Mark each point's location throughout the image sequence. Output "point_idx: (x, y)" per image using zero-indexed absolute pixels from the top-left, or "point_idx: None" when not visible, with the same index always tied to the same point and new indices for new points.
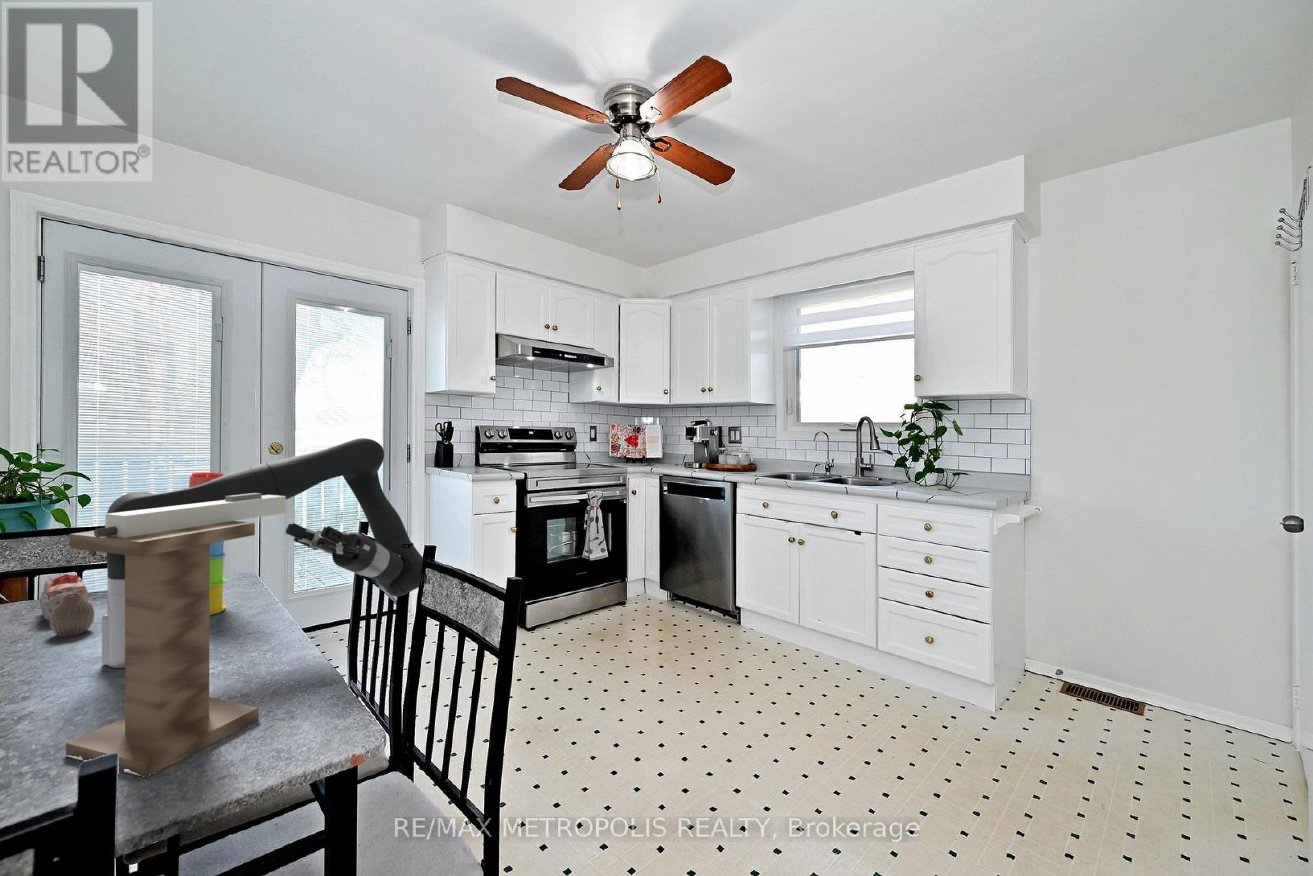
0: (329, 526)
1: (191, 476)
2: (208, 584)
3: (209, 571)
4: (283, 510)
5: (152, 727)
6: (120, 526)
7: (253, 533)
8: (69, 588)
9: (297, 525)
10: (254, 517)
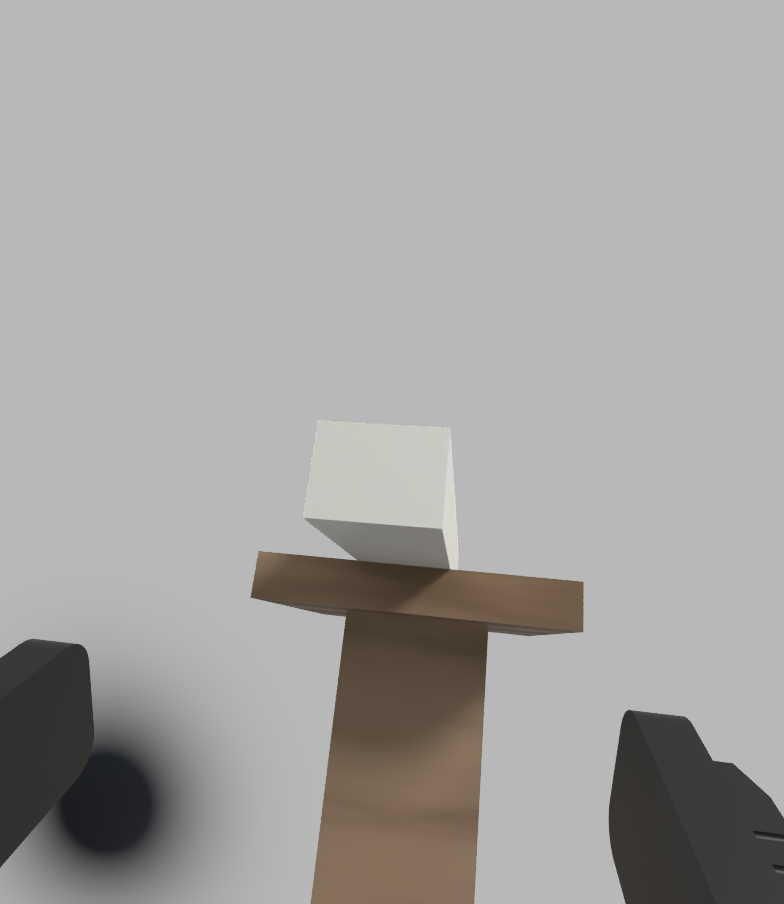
0: (20, 644)
1: None
2: (327, 768)
3: (333, 722)
4: (308, 504)
5: None
6: None
7: (252, 590)
8: None
9: (654, 775)
10: (342, 547)
